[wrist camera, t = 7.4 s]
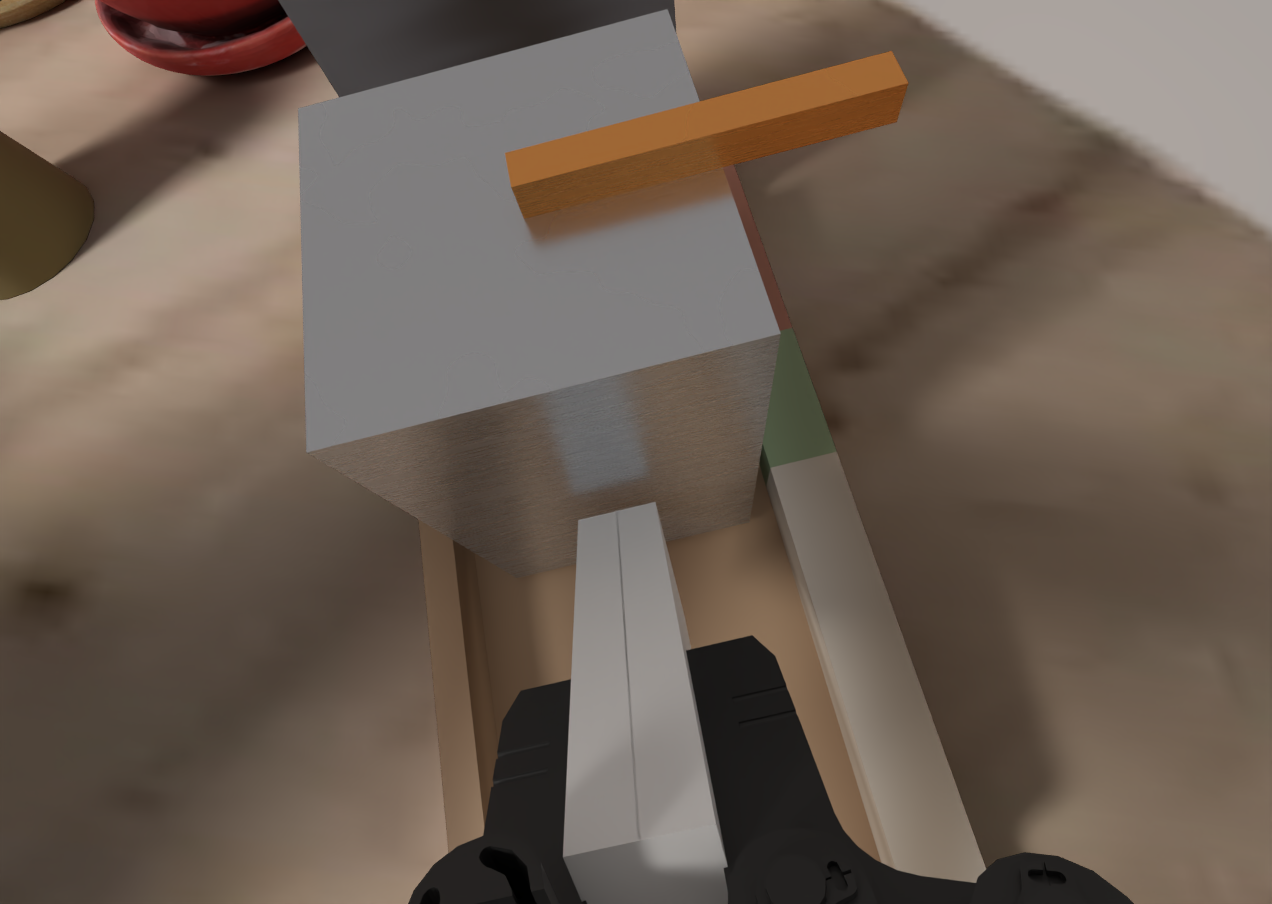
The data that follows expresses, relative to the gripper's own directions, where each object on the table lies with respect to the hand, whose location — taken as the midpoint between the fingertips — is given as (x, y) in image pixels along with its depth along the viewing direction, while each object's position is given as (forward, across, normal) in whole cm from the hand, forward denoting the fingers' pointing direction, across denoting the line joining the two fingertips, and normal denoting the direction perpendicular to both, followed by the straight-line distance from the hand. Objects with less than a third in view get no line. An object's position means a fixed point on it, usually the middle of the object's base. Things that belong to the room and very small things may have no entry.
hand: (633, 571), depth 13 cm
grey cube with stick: (+6, +1, +1) cm, 6 cm away
